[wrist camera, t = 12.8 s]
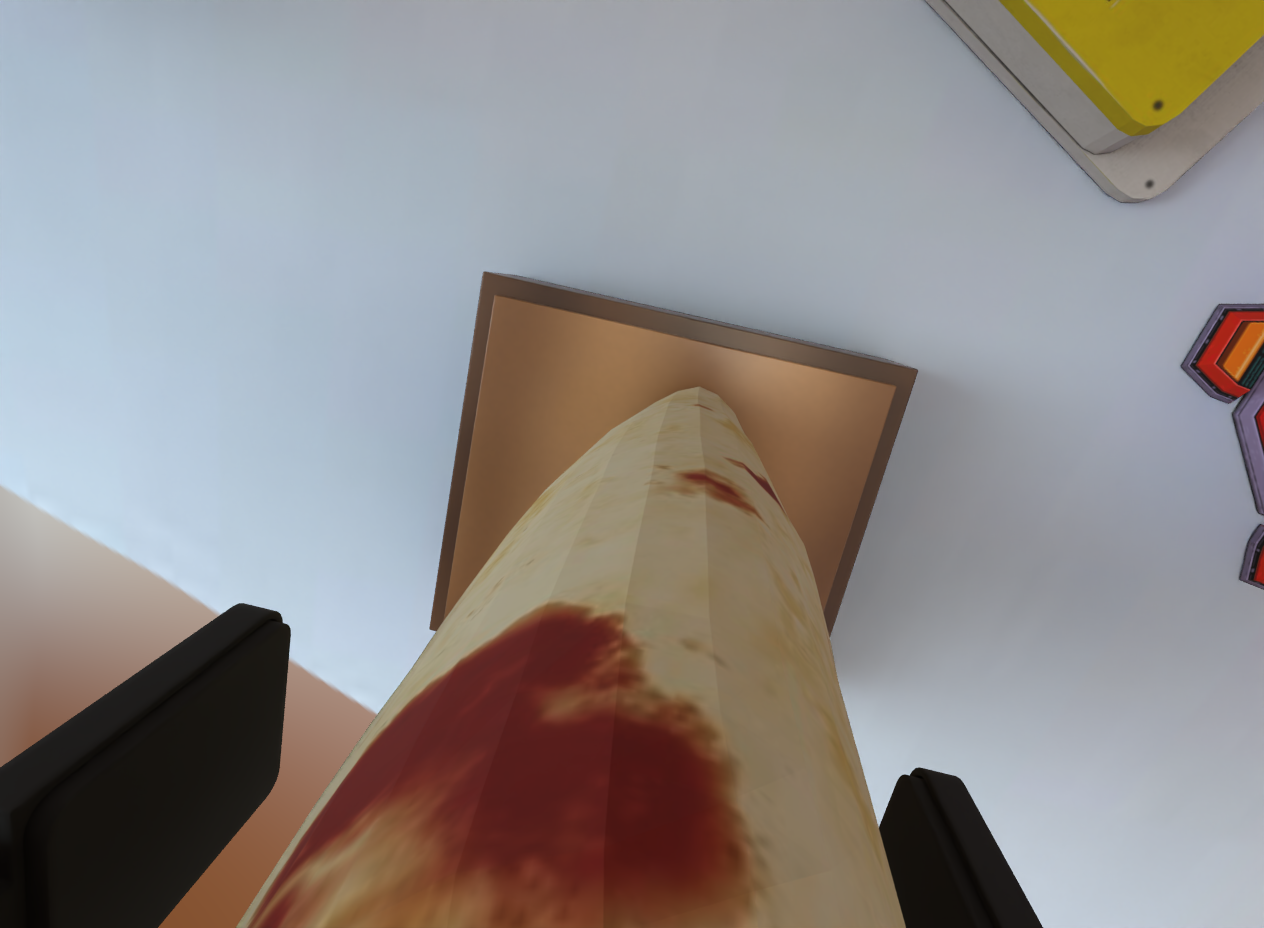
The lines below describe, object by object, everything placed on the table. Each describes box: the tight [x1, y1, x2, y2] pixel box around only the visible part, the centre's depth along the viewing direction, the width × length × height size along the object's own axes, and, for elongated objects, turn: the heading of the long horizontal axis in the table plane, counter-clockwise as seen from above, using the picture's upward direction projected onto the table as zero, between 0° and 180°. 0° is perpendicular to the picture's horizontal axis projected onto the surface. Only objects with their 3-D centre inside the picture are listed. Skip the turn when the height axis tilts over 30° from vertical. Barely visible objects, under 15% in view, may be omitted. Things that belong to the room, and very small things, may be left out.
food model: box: [236, 387, 906, 928], centre depth 12 cm, size 10×7×20 cm
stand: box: [430, 272, 918, 638], centre depth 24 cm, size 14×13×4 cm
